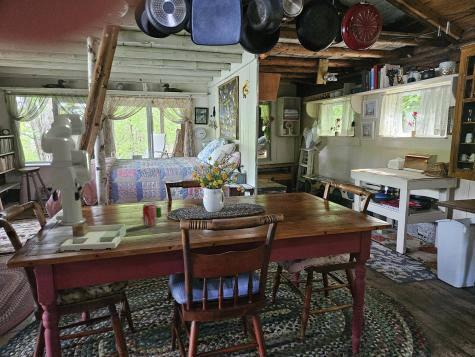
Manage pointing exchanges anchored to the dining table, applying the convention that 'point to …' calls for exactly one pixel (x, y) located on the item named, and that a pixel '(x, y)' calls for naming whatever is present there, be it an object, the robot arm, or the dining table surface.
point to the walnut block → (80, 229)
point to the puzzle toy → (158, 211)
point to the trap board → (97, 238)
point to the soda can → (149, 214)
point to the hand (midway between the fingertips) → (66, 200)
